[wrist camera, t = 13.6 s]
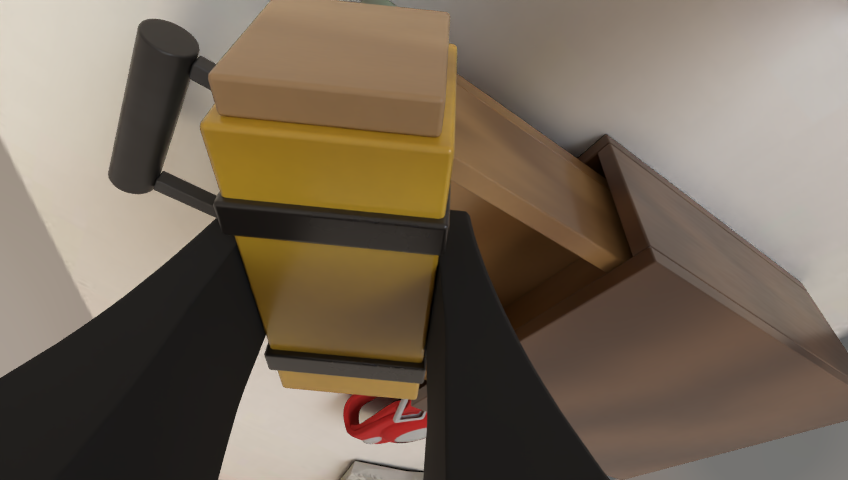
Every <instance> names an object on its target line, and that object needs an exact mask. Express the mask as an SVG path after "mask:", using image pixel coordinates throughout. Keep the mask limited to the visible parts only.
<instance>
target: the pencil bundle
mask: <svg viewBox="0 0 848 480" xmlns="http://www.w3.org/2000/svg"><path fill="white" fill-rule="evenodd" d="M449 30H450V14H449V13H447V12H441V11H432V10H422V9H413V8H403V7H394V6H384V5H375V4H365V3H356V2H346V1H337V0H271V1H270V2H269V3H268V4H267V5H266V7H265V8H264V9H263V10H262V11H261V12H260V14H259V15H258V16H257V17H256V18H255V20H254V21H253V22H252V23H251V24H250V25H249V27H248V28H247V29H246V30H245V31H244V32H243V34H242V35H241V36H240V37H239V38H238V40H237V41H236V42H235V43H234V44H233V45H232V47H231V48H230V49H229V50H228V51H227V53H226V54H225V55H224V56H223V57H222V58H221V60H220V61H219V62H218V63H217V64H216V66H215V67H214V68H213V69H212V70H211V71H210V73H209V75H208V80H209V84H210V88H211V91H212V95H213V98H214V102H215V104H214V105H213V107H212V108H211V109H210V111H209V112H208V113H207V115H206V116H205V117H204V119H203V120H202V121H201V124H200V130H201V134H202V137H203V140H204V143H205V146H206V149H207V152H208V155H209V158H210V161H211V165H212V168H213V171H214V174H215V177H216V180H217V183H218V186H219V189H220V192H219V193H218V195H217V197H216V199H215V200H214V203H213V207H214V210H215V213H216V216H217V219H218V221H219V224H220V227H221V230H222V232H223V233H224V234H226V235H233V236H235V239H236V242H237V245H238V249H239V252H240V255H241V258H242V261H243V264H244V267H245V270H246V273H247V277H248V280H249V283H250V286H251V289H252V292H253V295H254V298H255V301H256V304H257V308H258V311H259V314H260V317H261V320H262V323H263V326H264V329H265V332H266V336H267V339H268V345H267V348H266V351H265V354H264V355H265V358H266V361H267V364H268V367H269V369H271V370H278V373H279V376H280V379H281V382H282V385H283V387H285V388H292V389H303V390H314V391H324V392H335V393H345V394H356V395H367V396H377V397H388V398H399V399H409V400H415V399H417V397H418V390H419V384H422V383H423V382H424V378H425V372H426V338H427V331H428V325H429V318H430V311H431V305H432V298H433V292H434V285H435V279H436V272H437V265H438V259H439V256H441V255H443V254H444V253H445V251H446V245H447V239H448V233H449V226H450V195H451V174H452V167H453V160H454V154H455V122H456V82H457V47H456V45H453V44H449Z"/></svg>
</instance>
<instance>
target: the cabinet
mask: <svg viewBox="0 0 848 480" xmlns="http://www.w3.org/2000/svg"><path fill="white" fill-rule="evenodd" d="M577 159H578V160H580V161H581V162H583V163H584V164H585V165H587V166H588V167H590V168H591V169H593V170H594V171H595V172H597V173H598V174H600V175H601V176H602V177H604V178H605V179H606V180H607V183H608V186H609V189H610V192H611V194H612V197H613V200H614V203H615V206H616V209H617V212H618V215H619V218H620V221H621V223H622V226H623V229H624V232H625V235H626V238H627V241H628V244H629V247H630V249H631V252H632V255H633V256H634V257H632V258H631V259H629V260H627V261H626V262H624V263H623V264H621V265H619V266H618V267H616V268H614V269H613V270H611V271H610V272H608V273H606V274H605V275H603V276H602V277H600V278H598V279H597V280H595V281H593V282H592V283H590V284H589V285H587V286H585V287H584V288H582V289H580V290H579V291H577V292H576V293H574V294H572V295H571V296H569V297H568V298H566V299H564V300H563V301H561V302H559V303H558V304H556V305H555V306H553V307H551V308H550V309H548V310H547V311H545V312H543V313H542V314H540V315H538V316H537V317H535V318H534V319H532V320H530V321H529V322H527V323H526V324H524V325H522V326H521V327H519V328H517V329H516V330H514V331H515V333H516V335H517V337H518V339H519V341H520V343H521V345H522V347H523V349H524V350H525V352H526V354H527V356H528V358H529V359H530V361H531V363H532V365H533V366H534V368H535V370H536V371H537V373H538V375H539V376H540V378H541V380H542V382H543V383H544V385H545V386H546V388H547V390H548V391H549V393H550V394H551V396H552V397H553V399H554V401H555V402H556V404H557V405H558V407H559V409H560V410H561V412H562V413H563V415H564V416H565V418H566V419H567V420H568V422H569V423H570V425H571V426H572V427H573V429H574V430H575V432H576V433H577V435H578V436H579V437H580V439H581V440H582V442H583V443H584V445H585V446H586V447H587V449H588V450H589V452H590V453H591V455H592V456H593V457H594V459H595V460H596V462H597V463H598V465H599V466H600V467H601V469H602V470H603V471H604V473H605V474H606V475H608V476H611V477H614V478H617V479H619V480H624V479H628V478H632V477H635V476H639V475H643V474H647V473H650V472H654V471H658V470H662V469H666V468H669V467H673V466H677V465H680V464H685V463H688V462H692V461H696V460H700V459H703V458H707V457H711V456H715V455H719V454H722V453H726V452H730V451H734V450H738V449H741V448H745V447H749V446H753V445H757V444H760V443H763V442H768V441H772V440H775V439H779V438H783V437H787V436H791V435H794V434H798V433H802V432H806V431H809V430H813V429H817V428H820V427H825V426H828V425H832V424H836V423H840V422H844V421H847V420H848V353H847V351H846V349H845V348H844V346H843V345H842V343H841V342H840V340H839V339H838V337H837V336H836V334H835V333H834V331H833V330H832V328H831V327H830V325H829V324H828V322H827V321H826V319H825V318H824V316H823V314H822V313H821V311H820V310H819V308H818V307H817V305H816V304H815V302H814V301H813V299H812V298H811V296H810V295H809V293H808V292H807V290H806V289H805V287H804V286H803V284H802V283H801V282H800V281H798V280H797V279H796V278H794V277H793V276H792V275H790V274H789V273H788V272H787V271H785V270H784V269H783V268H781V267H780V266H779V265H777V264H776V263H775V262H773V261H772V260H771V259H770V258H768V257H767V256H766V255H764V254H763V253H762V252H760V251H759V250H758V249H756V248H755V247H754V246H752V245H751V244H750V243H749V242H747V241H746V240H745V239H743V238H742V237H741V236H739V235H738V234H737V233H735V232H734V231H733V230H732V229H730V228H729V227H728V226H726V225H725V224H724V223H722V222H721V221H720V220H718V219H717V218H716V217H714V216H713V215H712V214H711V213H709V212H708V211H707V210H705V209H704V208H703V207H701V206H700V205H699V204H697V203H696V202H695V201H694V200H692V199H691V198H690V197H688V196H687V195H686V194H684V193H683V192H682V191H680V190H679V189H678V188H676V187H675V186H674V185H673V184H671V183H670V182H669V181H667V180H666V179H665V178H663V177H662V176H661V175H659V174H658V173H657V172H656V171H654V170H653V169H652V168H650V167H649V166H648V165H646V164H645V163H644V162H642V161H641V160H640V159H638V158H637V157H636V156H635V155H633V154H632V153H631V152H629V151H628V150H627V149H625V148H624V147H623V146H621V145H620V144H619V143H618V142H616V141H615V140H614V139H612V138H611V137H610V136H608V135H604V136H603V137H602V138H601V139H600V140H598V141H597V142H596V143H595V144H594V145H593V146H591V147H590V148H589V149H588V150H587V151H586V152H584V153H583V154H582V155H581V156H580V157H579V158H577ZM411 406H412V407H415V408H418V409H420V410H423V411H426V412H427V380H424V382H423V383H422V384H419V390H418V397H417V399H415V400H411Z"/></svg>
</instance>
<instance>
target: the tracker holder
mask: <svg viewBox="0 0 848 480" xmlns="http://www.w3.org/2000/svg"><path fill="white" fill-rule="evenodd" d="M375 398H377V396H367V395H356V394H353V395H352V396H351V397H350V398H349V399H348V400H347V402H346V404H345V407H344V413H343V416H344V423H345V427H346V430H347V432H348V433H349V434H350V435H351V436H353V437H355V438H357V439H360V440H362V441H363V442H364V443H366V444H382V443H387V442H393V443H408V442H413V441H417V440H421V439H424V438H426V433H427V412H426V411H423V410H420V409H418V408H415V407H412V406H411V400H409V399H401V400H398V401H395V402H393V403H391V404H390V405H388V406H386V407H385V408H383V409H382V410H380V411H379V412H378V413H376V414H375V415H373V416H372V417H370V418H369V419H367V420H366V421H364V422H363V423H361V424H359V411H360V409H361V407H362V406H363V405H365V404H366V403H368V402H370V401H371V400H373V399H375Z"/></svg>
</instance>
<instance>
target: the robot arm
mask: <svg viewBox="0 0 848 480" xmlns="http://www.w3.org/2000/svg"><path fill="white" fill-rule="evenodd" d="M265 336H266V332H265V329H264V326H263V323H262V320H261V317H260V314H259V311H258V308H257V304H256V301H255V298H254V295H253V292H252V289H251V286H250V283H249V280H248V277H247V273H246V270H245V267H244V264H243V261H242V258H241V255H240V252H239V249H238V245H237V242H236V239H235V236H233V235H226V234H224V233H223V232H222V230H221V227H220V224H219V221H218V219H217V218H216V219H215V220H214V221H213V222H212V223H211V224H209V225H208V226H207V227H206V228H205V229H204V230H203V231H202V232H201V233H200V234H198V235H197V236H196V237H195V238H194V239H193V240H192V241H190V242H189V243H188V244H187V245H186V246H185V247H184V248H182V249H181V250H180V251H179V252H178V253H177V254H176V255H174V256H173V257H172V258H171V259H170V260H169V261H167V262H166V263H165V264H164V265H163V266H162V267H160V268H159V269H158V270H157V271H155V272H154V273H153V274H152V275H150V276H149V277H148V278H147V279H145V280H144V281H143V282H142V283H140V284H139V285H138V286H137V287H135V288H134V289H133V290H132V291H130V292H129V293H128V294H127V295H125V296H124V297H123V298H121V299H120V300H119V301H117V302H116V303H115V304H113V305H112V306H111V307H109V308H108V309H106V310H105V311H104V312H102V313H101V314H100V315H98V316H97V317H95V318H94V319H92V320H91V321H89V322H88V323H87V324H85V325H84V326H82V327H81V328H79V329H78V330H76V331H75V332H73V333H72V334H70V335H69V336H68V337H66V338H64V339H63V340H61V341H60V342H58V343H57V344H55V345H54V346H52V347H50V348H49V349H47V350H45V351H44V352H42V353H40V354H39V355H37V356H36V357H34V358H32V359H31V360H29V361H27V362H26V363H24V364H23V365H21V366H19V367H18V368H16V369H14V370H13V371H11V372H9V373H8V374H6V375H5V376H3V377H1V378H0V480H218V478H219V474H220V470H221V466H222V462H223V458H224V455H225V451H226V447H227V444H228V440H229V437H230V433H231V430H232V426H233V423H234V419H235V416H236V412H237V409H238V406H239V403H240V400H241V397H242V394H243V392H244V389H245V386H246V384H247V381H248V379H249V376H250V374H251V371H252V368H253V366H254V363H255V361H256V358H257V356H258V353H259V351H260V348H261V346H262V343H263V341H264V338H265ZM426 365H427V433H426V447H425V462H424V476H423V480H610V479H609V478H608V477H607V475H606V474H605V473H604V471H603V470H602V469H601V467H600V466H599V465H598V463H597V462H596V460H595V459H594V457H593V456H592V455H591V453H590V452H589V450H588V449H587V447H586V446H585V445H584V443H583V442H582V440H581V439H580V437H579V436H578V435H577V433H576V432H575V430H574V429H573V427H572V426H571V425H570V423H569V422H568V420H567V419H566V418H565V416H564V415H563V413H562V412H561V410H560V409H559V407H558V405H557V404H556V402H555V401H554V399H553V397H552V396H551V394H550V393H549V391H548V390H547V388H546V386H545V385H544V383H543V382H542V380H541V378H540V376H539V375H538V373H537V371H536V370H535V368H534V366H533V365H532V363H531V361H530V359H529V358H528V356H527V354H526V352H525V350H524V349H523V347H522V345H521V343H520V341H519V339H518V337H517V335H516V333H515V331H514V329H513V327H512V325H511V323H510V321H509V319H508V317H507V315H506V313H505V311H504V309H503V307H502V305H501V302H500V300H499V298H498V296H497V293H496V291H495V289H494V286H493V284H492V282H491V279H490V277H489V275H488V272H487V269H486V267H485V264H484V262H483V259H482V256H481V253H480V250H479V247H478V244H477V241H476V238H475V234H474V231H473V227H472V223H471V218H470V215H469V214H468V213H467V212H466V211H458V210H450V226H449V233H448V239H447V245H446V251H445V253H444V254H443V255H441V256H439V259H438V265H437V272H436V279H435V285H434V292H433V298H432V305H431V311H430V318H429V325H428V331H427V338H426Z"/></svg>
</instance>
